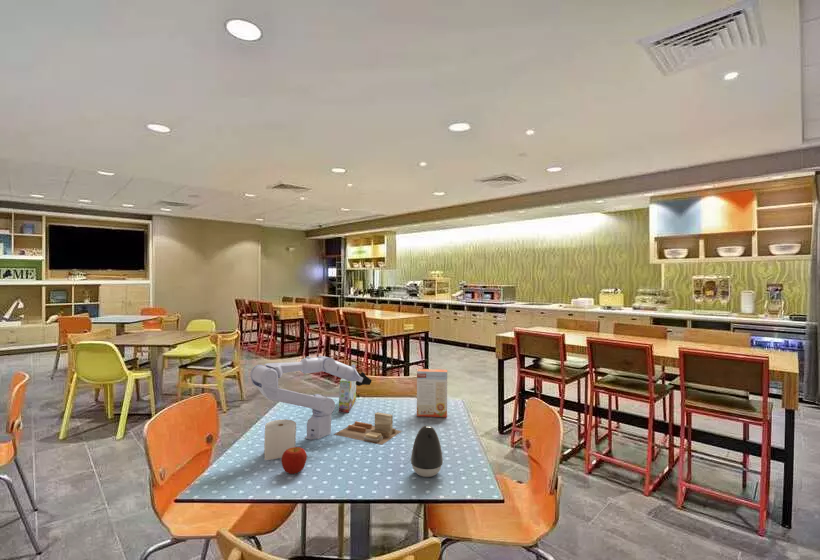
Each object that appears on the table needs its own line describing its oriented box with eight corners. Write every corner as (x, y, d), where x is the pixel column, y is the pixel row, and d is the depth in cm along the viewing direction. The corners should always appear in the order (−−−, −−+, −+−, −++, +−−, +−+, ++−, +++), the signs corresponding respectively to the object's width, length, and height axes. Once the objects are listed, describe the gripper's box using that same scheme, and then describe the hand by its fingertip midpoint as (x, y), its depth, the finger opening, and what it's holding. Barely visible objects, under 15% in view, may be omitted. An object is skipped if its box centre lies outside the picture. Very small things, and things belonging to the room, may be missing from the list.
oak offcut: (376, 439, 156) (376, 436, 156) (365, 437, 158) (365, 434, 158) (381, 436, 159) (381, 433, 159) (370, 434, 161) (370, 431, 161)
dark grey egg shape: (416, 483, 127) (416, 433, 127) (407, 468, 137) (407, 422, 137) (447, 479, 130) (448, 430, 130) (436, 465, 140) (437, 419, 140)
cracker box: (447, 413, 195) (447, 369, 195) (447, 418, 189) (447, 371, 189) (417, 412, 196) (417, 368, 196) (416, 416, 190) (416, 370, 190)
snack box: (350, 413, 194) (350, 380, 194) (338, 412, 194) (338, 380, 194) (356, 400, 215) (357, 371, 215) (345, 400, 215) (346, 370, 216)
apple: (296, 464, 139) (297, 441, 139) (311, 471, 134) (312, 447, 134) (276, 472, 133) (276, 447, 133) (291, 480, 128) (291, 454, 128)
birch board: (389, 435, 163) (390, 416, 163) (374, 432, 166) (374, 413, 166) (392, 433, 165) (392, 414, 165) (377, 430, 168) (377, 412, 168)
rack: (381, 447, 153) (382, 440, 153) (333, 437, 163) (333, 430, 163) (402, 434, 168) (402, 427, 168) (356, 425, 178) (356, 418, 178)
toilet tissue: (295, 445, 155) (296, 418, 154) (295, 459, 143) (296, 430, 143) (265, 447, 152) (266, 420, 152) (262, 461, 140) (263, 432, 140)
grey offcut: (377, 442, 155) (377, 439, 155) (364, 439, 158) (364, 437, 158) (382, 439, 159) (383, 436, 159) (369, 436, 162) (369, 433, 162)
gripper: (355, 366, 166) (379, 376, 175) (336, 356, 177) (359, 365, 186) (348, 383, 165) (371, 391, 174) (329, 372, 176) (353, 380, 185)
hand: (365, 379), depth 180 cm, fingers open, 7 cm apart
